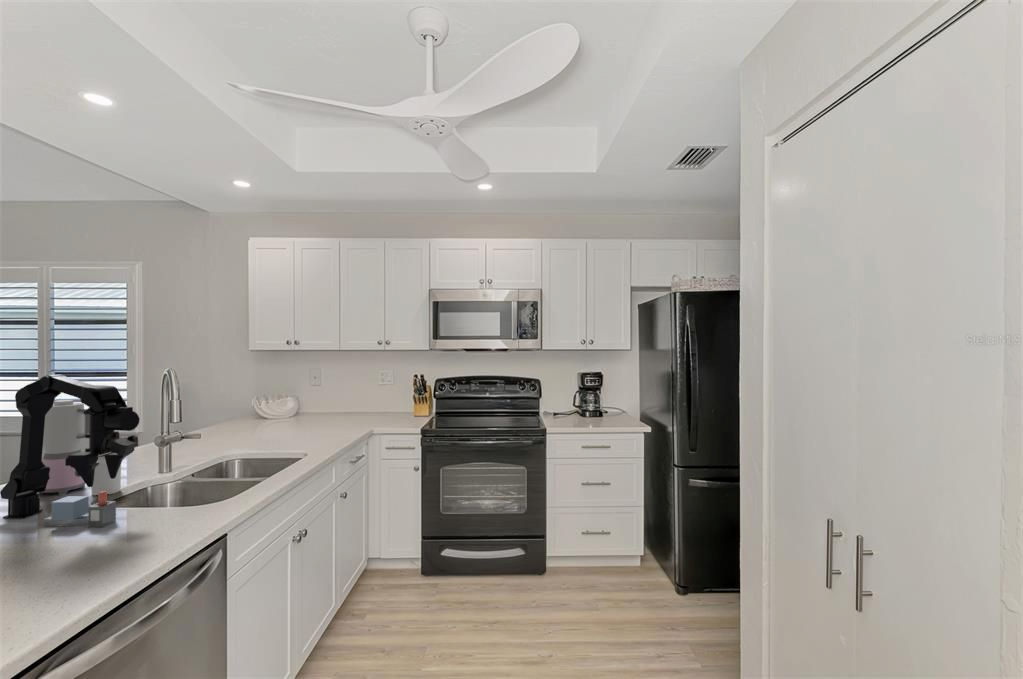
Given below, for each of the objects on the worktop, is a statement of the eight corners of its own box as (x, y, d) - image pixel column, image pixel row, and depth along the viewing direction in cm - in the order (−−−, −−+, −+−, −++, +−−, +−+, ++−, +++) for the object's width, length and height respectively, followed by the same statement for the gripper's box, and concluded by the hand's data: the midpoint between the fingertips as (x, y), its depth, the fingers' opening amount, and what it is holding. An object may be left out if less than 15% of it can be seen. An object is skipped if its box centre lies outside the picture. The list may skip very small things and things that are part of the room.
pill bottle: (104, 497, 168) (104, 453, 168) (85, 495, 170) (85, 452, 170) (126, 490, 176) (127, 448, 176) (108, 488, 177) (108, 447, 177)
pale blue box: (51, 519, 141) (51, 502, 141) (67, 512, 146) (67, 496, 146) (73, 519, 141) (73, 502, 141) (88, 512, 147) (88, 496, 147)
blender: (27, 495, 168) (29, 402, 168) (60, 485, 180) (62, 398, 180) (73, 496, 168) (74, 403, 168) (103, 486, 180) (104, 399, 180)
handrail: (43, 525, 142) (43, 519, 142) (50, 522, 145) (51, 516, 145) (90, 525, 143) (90, 519, 143) (96, 522, 145) (96, 516, 145)
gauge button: (96, 510, 143) (96, 493, 143) (101, 507, 145) (101, 490, 145) (103, 510, 143) (103, 493, 143) (108, 507, 145) (108, 491, 145)
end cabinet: (87, 527, 141) (87, 507, 141) (101, 521, 147) (102, 501, 147) (102, 527, 142) (102, 507, 142) (115, 521, 147) (115, 501, 147)
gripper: (105, 435, 135) (105, 492, 135) (152, 423, 154) (152, 473, 154) (63, 435, 135) (63, 492, 135) (115, 424, 153) (115, 474, 153)
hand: (101, 482), depth 144 cm, fingers open, 8 cm apart
